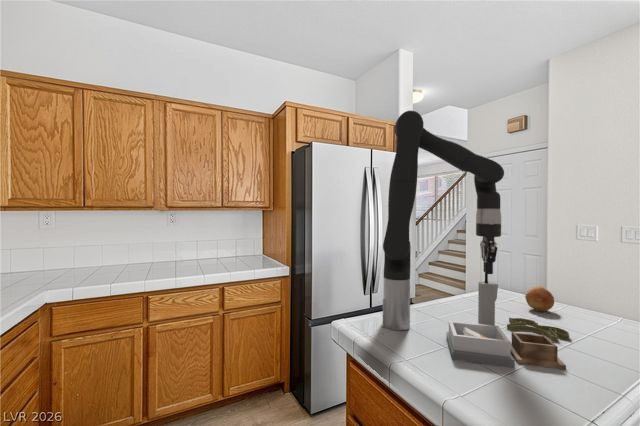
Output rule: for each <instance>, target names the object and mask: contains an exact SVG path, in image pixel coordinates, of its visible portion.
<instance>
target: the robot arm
mask: <svg viewBox="0 0 640 426" xmlns="http://www.w3.org/2000/svg"><path fill="white" fill-rule="evenodd" d="M394 134H395V137H396V150H395V156H394V159H393V164H392V167H391V172H390V177H389V187H388V201H387V202H388V205H387V207H388V208H387V211H388V214H387V215H388V217H387V225H386V229H385V230H386V231H385V233H384V234H385V235H384V240H383V243H382V249H383V252H384V263H383V299H382V328H387V329H389V330H392V331H407V330H409V329H410V327H411V241H410V223H411V216H412V213H413V209H414V205H415V199H416V195H417V185H418V172H419V171H418V170H419V167H418V166H419V165H418V164H419V158H418V157H419V149H422V150H423V151H426V152H427V153H430V154H432V155H433V156H436V157H437V158H439V159H441V160H443V161H444V162H446V163H447V164H449V165H451V166H453V167H454V168H456V169H458V170H459V171H461V172H465V173H466V172H467V173H469V174H472V175H474V176H473V178H474V179H473V180H474V181H473V182H474V188H475V192H476V215H475V236H476V237H477V236H478V237H482V240H481V241H480V244H479V245H480V254H481V259H482V262H483V273H484V274H485V273H486V274H488V275H493V274H494V263H496V260H497V259H496V258H497V252H498V246H497V242H496V240H495V238H500V237H501V236H502V213H501V194H500V193H499V192H498V191H497V185H496V183H499V182H500V181H501V180H502V179H503V178H504V176H505V170H504V168H503V166H502V165H501V164H500V163H498V162H496V161H495V160H493V159H490V158H487V157H485V156H483V155H479V154H477V153H475V152H473V151H472V150H470V149H469V148H466V147H464V145H461V144H459V143H457V142H454V141H452V140H450V139H446V138H442V137H440V136H438V135H435V134H433V133H432V132H430V131H428V130H427V129H426V128H424V120H423V117H422V115H421V114H420V113H419V112H417V111H416V110H411V109H410V110H406V111H404V112H403V113H401V115H399V116H398V118H397V120H396V122H395V126H394Z"/></svg>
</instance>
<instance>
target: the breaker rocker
mask: <svg viewBox="0 0 640 426" xmlns="http://www.w3.org/2000/svg"><path fill="white" fill-rule="evenodd" d="M463 333H464V335H465V336H474V337H482V338H487V337H485V336H483V335H481V334H478V333H476V332H474V331H472V330H470V329H468V328H466V327H465V328H464V330H463Z"/></svg>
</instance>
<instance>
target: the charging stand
mask: <svg viewBox="0 0 640 426" xmlns="http://www.w3.org/2000/svg"><path fill="white" fill-rule="evenodd" d="M558 349H559V347H558V346H557V344H555V342H554V341H551V340H550V339H549V338H548V337H546V336H544V335H542V334H535V333H534V334H533V333H524V332H514V331H511V356H512V357H513V358H514V360H515V362H516V363H517V364H522V365H529V366H537V367H546V368H551V369H552V368H553V369H559V370H566V369H567V365H566V364H565V363H564V362H563V361H562V360H561V359H560V358H559V357H558Z"/></svg>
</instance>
